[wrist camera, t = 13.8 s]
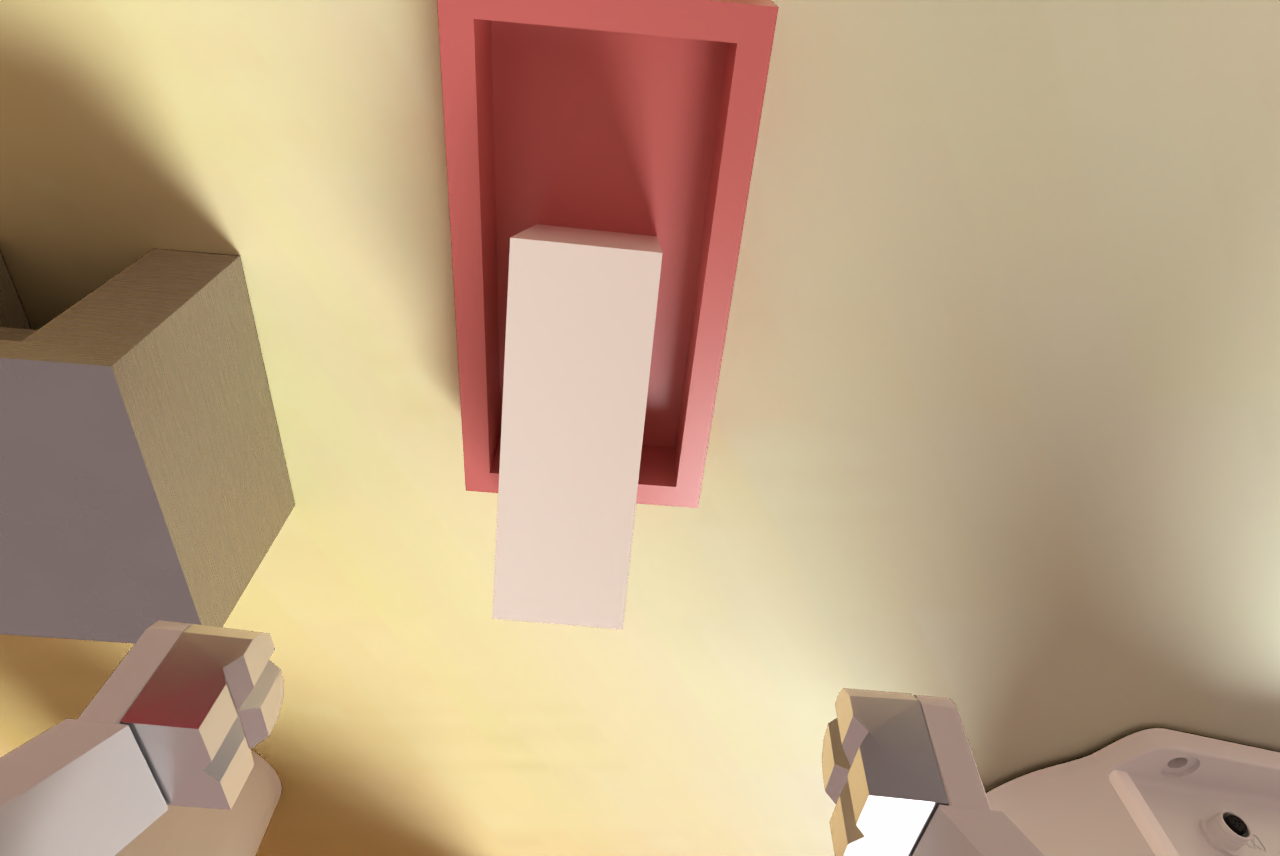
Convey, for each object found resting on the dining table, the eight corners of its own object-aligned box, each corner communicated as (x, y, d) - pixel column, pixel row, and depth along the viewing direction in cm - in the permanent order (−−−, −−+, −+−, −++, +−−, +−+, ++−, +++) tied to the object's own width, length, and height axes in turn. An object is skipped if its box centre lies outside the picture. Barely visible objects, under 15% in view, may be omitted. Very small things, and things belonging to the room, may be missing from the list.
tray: (763, -7, 20) (778, 6, 17) (694, 457, 28) (697, 507, 26) (462, -35, 19) (435, -26, 17) (481, 440, 28) (465, 490, 25)
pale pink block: (657, 236, 23) (662, 253, 18) (625, 545, 26) (622, 629, 21) (536, 224, 22) (510, 237, 18) (519, 536, 26) (492, 618, 21)
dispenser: (239, 255, 24) (110, 366, 18) (295, 505, 30) (209, 648, 24) (-94, 228, 24) (-330, 331, 18) (26, 485, 29) (-125, 625, 24)
